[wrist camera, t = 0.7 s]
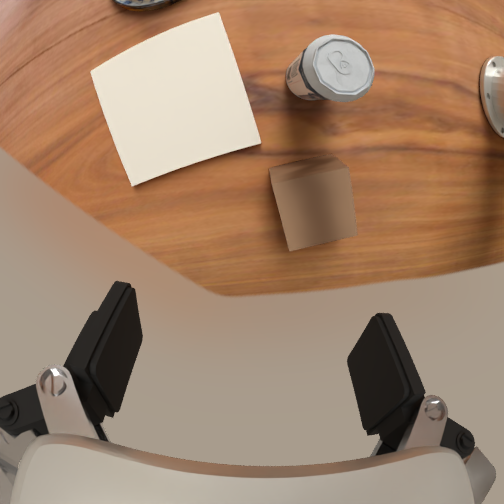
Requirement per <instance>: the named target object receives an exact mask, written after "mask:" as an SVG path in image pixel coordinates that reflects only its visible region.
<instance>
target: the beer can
mask: <svg viewBox="0 0 504 504" xmlns="http://www.w3.org/2000/svg"><path fill="white" fill-rule="evenodd" d="M373 79H374V67H373V63H372V60H371V58H370V56H369V54H368V52H367V51H366V50H365V49H364V48H363V47H362V46H361V45H360V44H359V43H357V42H356V41H354V40H352V39H351V38H348V37H345V36H341V35H326V36H322V37H320V38H318V39H316V40H314V41H313V42H312V43H311V44H310V45H309V46H308V47H307V48H306V49H305V50H304V51H303V52H302V53H301V54H300V55H299V56H298V57H297V58H296V59H295V60H294V61H293V62H292V63H291V64H290V65H289V67H288V69H287V72H286V82H287V85H288V87H289V89H290V90H291V91H292V92H293V93H294V94H295V95H296V96H298V97H300V98H302V99H304V100H333V101H339V102H349V101H354V100H357V99H358V98H360V97H362V96H363V95H365V94H366V93H367V92H368V90H369V89H370V87H371V86H372V83H373Z"/></svg>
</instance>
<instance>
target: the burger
mask: <svg viewBox="0 0 504 504" xmlns="http://www.w3.org/2000/svg"><path fill="white" fill-rule="evenodd" d="M113 1H114V2H115V3H117V4H118V5H120V6H121V7H122V6H123V8H125V9H128V10H132V11H151V10H156V9H161V8H164V7H167V6H169V5H172V4H174V3H176V2H178V1H181V0H113Z"/></svg>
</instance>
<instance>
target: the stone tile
mask: <svg viewBox="0 0 504 504" xmlns="http://www.w3.org/2000/svg"><path fill="white" fill-rule="evenodd" d="M90 72H91V75H92V79H93V82H94V85H95V88H96V92H97V95H98V98H99V101H100V104H101V107H102V110H103V113H104V115H105V118H106V121H107V124H108V127H109V129H110V132H111V135H112V138H113V140H114V143H115V145H116V148H117V151H118V153H119V156H120V158H121V161H122V163H123V166H124V168H125V170H126V173H127V175H128V178H129V180H130V182H131V185H132V186H134V185H137V184H139V183H142V182H144V181H147V180H149V179H152V178H155V177H157V176H160V175H163V174H165V173H168V172H171V171H173V170H176V169H179V168H182V167H185V166H188V165H191V164H194V163H197V162H200V161H203V160H206V159H209V158H212V157H215V156H218V155H222V154H225V153H228V152H232V151H235V150H239V149H242V148H246V147H249V146H253V145H257V144H261V139H260V136H259V132H258V129H257V126H256V122H255V119H254V116H253V112H252V109H251V106H250V103H249V100H248V96H247V93H246V90H245V87H244V84H243V81H242V78H241V75H240V72H239V69H238V66H237V63H236V60H235V57H234V54H233V51H232V48H231V45H230V42H229V39H228V36H227V33H226V31H225V28H224V25H223V22H222V19H221V17H220V14H219V12H218V13H215V14H212V15H208V16H205V17H202V18H199V19H196V20H194V21H191V22H188V23H185V24H183V25H180V26H178V27H175V28H173V29H170V30H168V31H165V32H163V33H161V34H158V35H156V36H154V37H152V38H150V39H148V40H146V41H143V42H141V43H139V44H137V45H135V46H133V47H132V48H130V49H128V50H126V51H124V52H122V53H120V54H119V55H117V56H115V57H113V58H112V59H110V60H108V61H106V62H105V63H103V64H101V65H100V66H98V67H97V68H95V69H93V70H92V71H90Z"/></svg>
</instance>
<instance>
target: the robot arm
mask: <svg viewBox="0 0 504 504" xmlns="http://www.w3.org/2000/svg"><path fill="white" fill-rule="evenodd" d="M480 93H481V99H482V104H483V108H484V111H485V114H486V117H487V119H488V121H489V123H490V125H491V126H492V128H493V129H494V131H495V132H496V133H497V134H498V135H499V136H501V137H503V138H504V57H501V56H492V57H490V58H488V59H487V60H486V61H485V63H484V65H483V67H482V70H481V75H480ZM142 337H143V335H142V329H141V324H140V318H139V313H138V305H137V299H136V292H135V289H134V288H131V284H130V283H125V282H119V281H116V282H115V283H114V284H113V285H112V287H111V289H110V291H109V292H108V294H107V296H106V297H105V299H104V301H103V302H102V304H101V306H100V308H99V309H98V311H94V312H92V314H91V315H90V316H89V318H88V320H87V322H86V324H85V325H84V327H83V329H82V331H81V333H80V334H79V336H78V338H77V340H76V342H75V344H74V346H73V348H72V350H71V352H70V354H69V356H68V358H67V360H66V362H65V364H64V366H61V365H55V364H54V365H49V366H47V367H45V368H43V369H42V370H41V371H40V373H39V374H38V376H37V380H36V384H34V385H32V386H29V387H26V388H24V389H21V390H19V391H16V392H14V393H11V394H8V395H5V396H3V397H1V398H0V504H481V503H482V502H483V500H484V499H485V497H486V495H487V494H488V492H489V490H490V488H491V487H492V485H493V483H494V481H495V478H496V471H495V468H494V466H493V465H492V464H491V463H490V462H489V460H488V459H487V458H486V457H485V456H484V454H483V453H482V452H481V451H480V450H479V449H478V447H475V448H474V446H475V442H474V437H473V435H472V434H471V432H470V431H469V430H467V429H465V428H464V427H462V426H461V425H459V424H458V423H456V422H455V421H453V420H451V419H450V418H448V409H447V406H446V404H445V403H444V401H443V400H442V399H441V398H440V397H437V396H435V395H429V396H427V397H426V398H425V397H424V394H425V389H424V387H423V385H422V382H421V379H420V377H419V374H418V372H417V370H416V367H415V365H414V363H413V360H412V358H411V356H410V353H409V351H408V349H407V347H406V345H405V342H404V340H403V338H402V336H401V334H400V331H399V330H398V327H397V325H396V323H395V321H394V319H393V317H392V315H391V314H389V313H377V314H376V315H375V316H373V317H372V318H371V319H370V321H369V323H368V325H367V326H366V328H365V330H364V332H363V333H362V335H361V337H360V338H359V340H358V342H357V343H356V345H355V347H354V348H353V350H352V351H351V353H350V355H349V356H348V359H347V363H348V367H349V372H350V376H351V380H352V383H353V387H354V391H355V396H356V400H357V404H358V408H359V412H360V417H361V421H362V426H363V428H364V430H366V432H367V435H375V434H379V436H380V439H379V441H378V443H377V445H376V447H375V448H374V450H373V452H372V454H371V456H370V457H367V458H361V459H356V460H350V461H342V462H334V463H326V464H314V465H300V466H241V465H227V464H216V463H207V462H198V461H192V460H185V459H178V458H173V457H168V456H163V455H158V454H153V453H149V452H144V451H140V450H136V449H132V448H128V447H125V446H121V445H117V444H114V443H111V441H110V439H109V437H108V435H107V433H106V431H105V429H104V427H103V425H102V422H103V420H104V417H105V415H106V416H109V417H113V416H114V413H115V412H119V410H120V407H121V404H122V401H123V397H124V394H125V391H126V387H127V385H128V381H129V378H130V375H131V372H132V369H133V366H134V363H135V360H136V358H137V355H138V352H139V349H140V346H141V343H142ZM20 460H21V462H20ZM19 462H20V465H19V468H18V464H19Z"/></svg>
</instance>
